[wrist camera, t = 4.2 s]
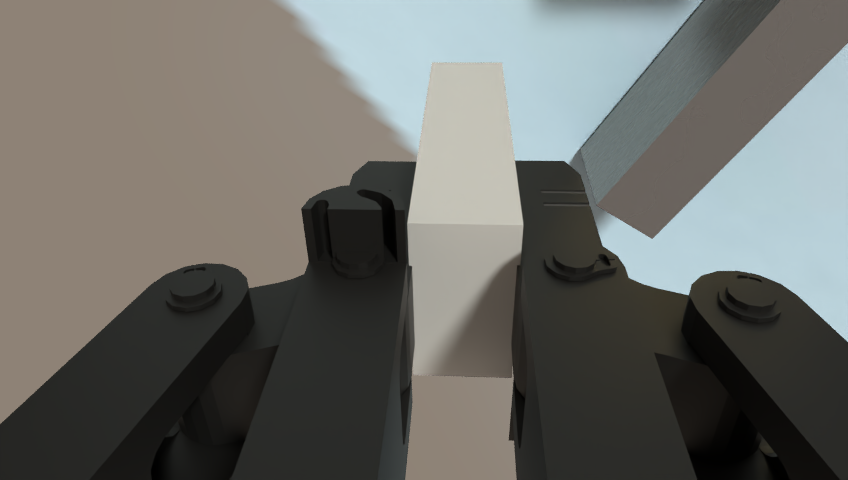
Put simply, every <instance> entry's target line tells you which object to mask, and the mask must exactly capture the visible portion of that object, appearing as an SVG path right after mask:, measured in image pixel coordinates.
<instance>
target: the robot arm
mask: <svg viewBox="0 0 848 480" xmlns="http://www.w3.org/2000/svg"><path fill="white" fill-rule="evenodd" d="M301 210H302V217H303V224H304V231H305V238H306V245H307V252H308V259H309V263H308V266H307V269H306V271H305V274H304V275H301V276H299V277H296V278H294V279H291V280H288V281H284V282H280V283H275V284H270V285H265V286H259V287H254V288H249V287H248V282H247V278H246V277H245V276H244V275H243V274H242V273H241V272H240V271H239V270H238V269H236V268H233V267H230V266H227V265H224V264H207V263H205V264H198V265H191V266H187V267H183V268H181V269H178V270H176V271H173V272H171V273H168V274H166V275H164V276H163V277H161V278H160V279H159V280H157V281H156V282H154V283H153V284H151V285H150V286H149V287H148V288H147V289H146V290H145V291H144V292H143V293H141V294H140V295H139V296H138V297H137V298H136V299H135V300H134V301H133V302H132V303H131V304H130V305H128V306H127V307H126V308H125V309H124V310H123V311H122V312H121V313H120V314H119V315H118V316H117V317H116V318H114V319H113V320H112V321H111V322H110V323H109V324H108V325H107V326H106V327H105V328H104V329H103V330H102V331H101V332H99V333H98V334H97V335H96V336H95V337H94V338H93V339H92V340H91V341H90V342H89V343H88V344H86V346H85V347H83V348H82V349H81V350H80V351H79V352H78V353H77V354H76V355H75V356H73V358H71V359H70V360H69V361H68V362H67V363H66V364H65V365H64V366H63V367H62V368H60V370H58V371H57V372H56V373H55V374H54V375H53V376H52V377H51V378H50V379H49V380H48V381H46V382H45V383H44V384H43V385H42V386H41V387H40V388H39V389H38V390H37V391H36V392H35V393H34V394H32V395H31V396H30V397H29V398H28V399H27V400H26V401H25V402H24V403H23V404H22V405H21V406H20V407H18V408H17V409H16V410H15V411H14V412H13V413H12V414H11V415H10V416H9V417H8V418H7V419H5V420H4V421H3V422H2V423H1V424H0V480H405V474H406V464H407V454H408V443H409V432H410V422H411V411H412V383H411V382H412V381H411V376H412V366H413V375H432V376H465V377H499V378H511V377H512V366H513V374H514V382H513V395H512V408H511V419H510V432H509V440H514V445H515V460H516V475H517V480H848V342H847V341H846V340H845V339H844V338H843V337H842V336H840V335H839V334H838V333H837V332H836V331H835V330H834V329H833V328H832V327H831V326H830V325H829V324H828V323H826V322H825V321H824V320H823V319H822V318H821V317H820V316H819V315H818V314H817V313H816V312H815V311H814V310H812V309H811V308H810V307H809V306H808V305H807V304H806V303H805V302H804V301H803V300H802V299H801V298H799V297H798V296H797V295H796V294H794V293H793V292H791V291H790V290H789V289H787V288H786V287H784V286H783V285H781V284H779V283H777V282H774V281H772V280H769V279H767V278H765V277H762V276H760V275H756V274H752V273H747V272H740V271H717V272H713V273H710V274H706V275H703V276H701V277H700V278H699V279H697V280H696V281H695V282H694V283H693V284H692V286H691V290H690V293H689V295H684V294H680V293H675V292H670V291H666V290H661V289H657V288H654V287H650V286H647V285H643V284H641V283H639V282H636V281H634V280H632V279H630V278H628V275H627V272H626V269H625V267H624V265H623V264H622V262H621V261H620V259H619V258H618V256H616V255H615V254H613V253H612V252H611V251H609V250H608V249H606V248H605V247H603V246H602V243H601V240H600V237H599V234H598V230H597V227H596V224H595V221H594V217H593V214H592V211H591V208H590V206H589V201H588V198H587V195H586V193H585V188H584V185H583V182H582V179H581V175H580V174H579V173H578V172H576V171H575V170H574V169H573V168H572V167H571V166H569V165H568V164H567V163H566V162H565V161H515V157H514V150H513V142H512V135H511V127H510V119H509V112H508V104H507V97H506V89H505V82H504V74H503V66H502V63H432V66H431V72H430V79H429V85H428V92H427V98H426V105H425V111H424V118H423V124H422V131H421V137H420V144H419V150H418V157H417V162H386V161H382V162H381V161H368V162H367V163H366V164H365V165H364V166H362V167H361V168H360V169H359V170H358V171H356V172H355V173H354V174H353V176H352V179H351V182H350V185H349V186H340V187H336V188H333V189H329V190H326V191H323V192H321V193H319V194H317V195H316V196H314V197H312V198H310V199H309V200H308V201H307V202H306V204H305V205H304V206H303V207H302V209H301Z"/></svg>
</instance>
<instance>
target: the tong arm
mask: <svg viewBox="0 0 848 480" xmlns="http://www.w3.org/2000/svg"><path fill="white" fill-rule="evenodd" d="M847 43H848V0H704V2H703V3H702V4H701V5H700V6H699V8H698V9H697V10H696V11H695V12H694V14H693V15H692V16H691V17H690V18H689V20H688V21H687V22H686V23H685V24H684V26H683V27H682V28H681V29H680V31H679V32H678V33H677V34H676V35H675V37H674V38H673V39H672V40H671V41H670V43H669V44H668V45H667V46H666V47H665V49H664V50H663V51H662V52H661V53H660V55H659V56H658V57H657V58H656V59H655V61H654V62H653V63H652V64H651V65H650V67H649V68H648V69H647V70H646V71H645V73H644V74H643V75H642V76H641V77H640V79H639V80H638V81H637V82H636V83H635V85H634V86H633V87H632V88H631V89H630V91H629V92H628V93H627V94H626V95H625V97H624V98H623V99H622V100H621V101H620V103H619V104H618V105H617V106H616V107H615V109H614V110H613V111H612V112H611V113H610V115H609V116H608V117H607V118H606V119H605V121H604V122H603V123H602V124H601V125H600V127H599V128H598V129H597V130H596V131H595V133H594V134H593V135H592V136H591V137H590V139H589V140H588V141H587V142H586V143H585V145H584V146H583V147H582V148H581V149H580V151H581V155H582V158H583V162H584V165H585V168H586V172H587V175H588V179H589V182H590V186H591V189H592V192H593V196H594V199H595V203H596V205H597V206H598V207H600V208H602V209H603V210H605V211H607V212H608V213H610V214H612V215H613V216H615V217H617V218H618V219H620V220H622V221H623V222H625V223H627V224H628V225H630V226H632V227H633V228H635V229H637V230H638V231H640V232H642V233H643V234H645V235H647V236H648V237H650V238H652V239H653V238H654V237H655V236H656V235H657V234H658V233H659V232H660V231H661V230H662V229H663V228H664V227H665V226H666V225H667V224H668V223H669V222H670V220H671V219H672V218H673V217H674V216H675V215H676V214H677V213H678V212H679V211H680V210H681V209H682V208H683V207H684V206H685V205H686V204H687V203H688V202H689V201H690V200H691V199H692V198H693V197H694V196H695V195H696V194H697V193H698V192H699V191H700V190H701V189H702V188H703V187H704V186H705V185H706V184H707V183H708V182H709V181H710V180H711V179H712V178H713V177H714V176H715V175H716V174H717V173H718V172H719V171H720V170H721V169H722V168H723V167H724V166H725V165H726V164H727V163H728V162H729V161H730V160H731V159H732V158H733V157H734V156H735V155H736V154H737V153H738V152H739V151H740V150H741V149H742V148H743V147H744V146H745V145H746V144H747V143H748V142H749V141H750V140H751V139H752V138H753V137H754V136H755V135H756V134H757V133H758V132H759V131H760V130H761V129H762V128H763V127H764V126H765V125H766V124H767V123H768V122H769V121H770V120H771V119H772V118H773V117H774V116H775V115H776V114H777V113H778V112H779V111H780V110H781V109H782V108H783V107H784V106H785V105H786V104H787V103H788V102H789V101H790V100H791V99H792V98H793V97H794V96H795V95H796V94H797V93H798V92H799V91H800V90H801V89H802V88H803V87H804V86H805V85H806V84H807V83H808V82H809V81H810V80H811V79H812V78H813V77H814V76H815V75H816V74H817V73H818V72H819V71H820V70H821V69H822V68H823V67H824V66H825V65H826V64H827V63H828V62H829V61H830V60H831V59H832V58H833V57H834V56H835V55H836V54H837V53H838V52H839V51H840V50H841V49H842V48H843V47H844V46H845V45H846V44H847Z"/></svg>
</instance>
